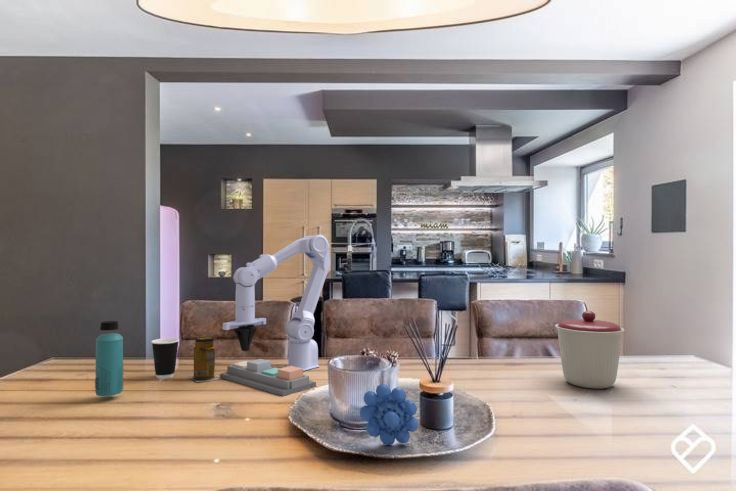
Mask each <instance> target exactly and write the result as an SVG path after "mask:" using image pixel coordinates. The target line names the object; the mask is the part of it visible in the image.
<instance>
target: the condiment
mask: <svg viewBox="0 0 736 491" xmlns="http://www.w3.org/2000/svg"><path fill="white" fill-rule="evenodd" d="M214 339H215V338H214V337H212V336H199V337H196V338H195V341H194V342H195V343H194V348H193V375H189V376H187V377H188V378H189V379H190V380H193V381H194V382H196V383H204V382H210V381H218V380H221V379H222V378H220V376H217V375H215V372H216V371H215V370H216V369H215V367H216V366H215V365H216V356H215V355H216V347H215V345H214V344H215V343H214Z"/></svg>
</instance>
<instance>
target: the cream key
mask: <svg viewBox="0 0 736 491" xmlns="http://www.w3.org/2000/svg"><path fill="white" fill-rule="evenodd" d="M248 361H249V360H245V361H244V360H243V361H239V362H234V363H232V364H233V366H235V367H238V368H242V369H243V368H247V362H248Z"/></svg>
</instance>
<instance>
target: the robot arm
mask: <svg viewBox="0 0 736 491" xmlns="http://www.w3.org/2000/svg"><path fill="white" fill-rule="evenodd" d="M330 247H331V245H330V243H329V241H328V239H327V238H326V236H324V235H323V234H316V235H306V236H303V237H302V238H299V239H296V240H294V241H293V242H291V243H290V244H288V245H287V246H284V248H282V249H280V250H279V251H277V252H275V253H274V254H272V255H271V254H268V253H266V254H264V253H263V254H260V255H258V257H259V258H257V259H255V260H254V261H252V262H246V263H245V265H246V267H245V266H243V267H239V268H237V269H236V270H235V272H234V273H233V275H232V279H233V282H234V283H235V320H231V321H227V322H222V330H225V331H228V330H233V331H234V333H235V335H236V337H237V339H238V342H239V346H240V349H241V350H240V351H243V352H249V351H250V346H251V343H252V340H253V338H254V336H255V334H256V332H257V326H259V325H267V318H266V317H258V318H257V317H256V316H255V315H256V308H255V307H256V298H255V295H256V292H255V287H256V286H255V285H256V283H257V281H258V280H260V279H262V278H264V277H265V276H267V275H268V274H269V275H270V274H271V273H273V272H274V271H276V269H277V267H278V264H281V262H283V261H286V260H288V259H289V258H291V257H293V256H296V254H301V253H303V254H304V255H305V256H307V258H309V260H310V262H311V264H312V268H311V270H310V274H309V276H308V280H307V282H306V286H305V288H304V291H303V293H302V297H301V300H300V303H299V305H298V308H297V310H296V311H295V312H294V313H293V314H292V317H291V319H290V320H289V321H288V322H287V324H286V326H285V332H286V334H287V336H288V345H287V346H288V351H287V353H288V359H287V360H288V361H287V362H288V363H287V365H285V366H283V367H282V368H285V367H289V366H294V367H298V368H303V372H304V371H309V370H312V369H313V370H314V369H316V368H319V367H320V366H321V365H319V363H318V362H319V361H318V359H319V347H318V343H317V341H315V340H314V339H313V336H314V332H315V329H314V326H315V322H316V321H315V316H314V313H315V311H316V308H317V304H318V301H319V298H320V296H321V293H322V290H323V287H324V284H325V281H326V278H327V275H328V273H329V269H330V267H331V257H330Z"/></svg>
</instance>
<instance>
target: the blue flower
mask: <svg viewBox="0 0 736 491" xmlns="http://www.w3.org/2000/svg"><path fill="white" fill-rule="evenodd" d="M363 401H364V403H365V405H364V406H361V407H360V410H359V417H360V418H361V420H362V421H364V422H367V423H366V426H365V430H366V433H367V434H368V435H369V436H370V437H373V438H377V437H379V438H380V442H381V443H382V444H383V445H384V444H386V445H385V446H387V445H390V446H392V445H394V444H393V443H395V442H396V441H397V442H398V443H399V444H403V443H405V444H406V443H408V442H409V441H410V436H411V435H410V433H414V432H416V431H417V430H418V428H419V423H418V419H417V418H416V417H414V416H415V415H416V414H417V412H418V407H417V404H416V403H415V402H414V401H413V400H410V399H407V394H406V391H405V390H404V389H403V388H401V387H397V386H396V387H395V388H393V389H392V390H391V388H390V386H389V385H388V384H384V383H380V384H379V385H377V387H376V390H375V392H374V391H371V390H368V391H366V392H365V393H364V395H363ZM395 440H396V441H395ZM391 444H392V445H391Z"/></svg>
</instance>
